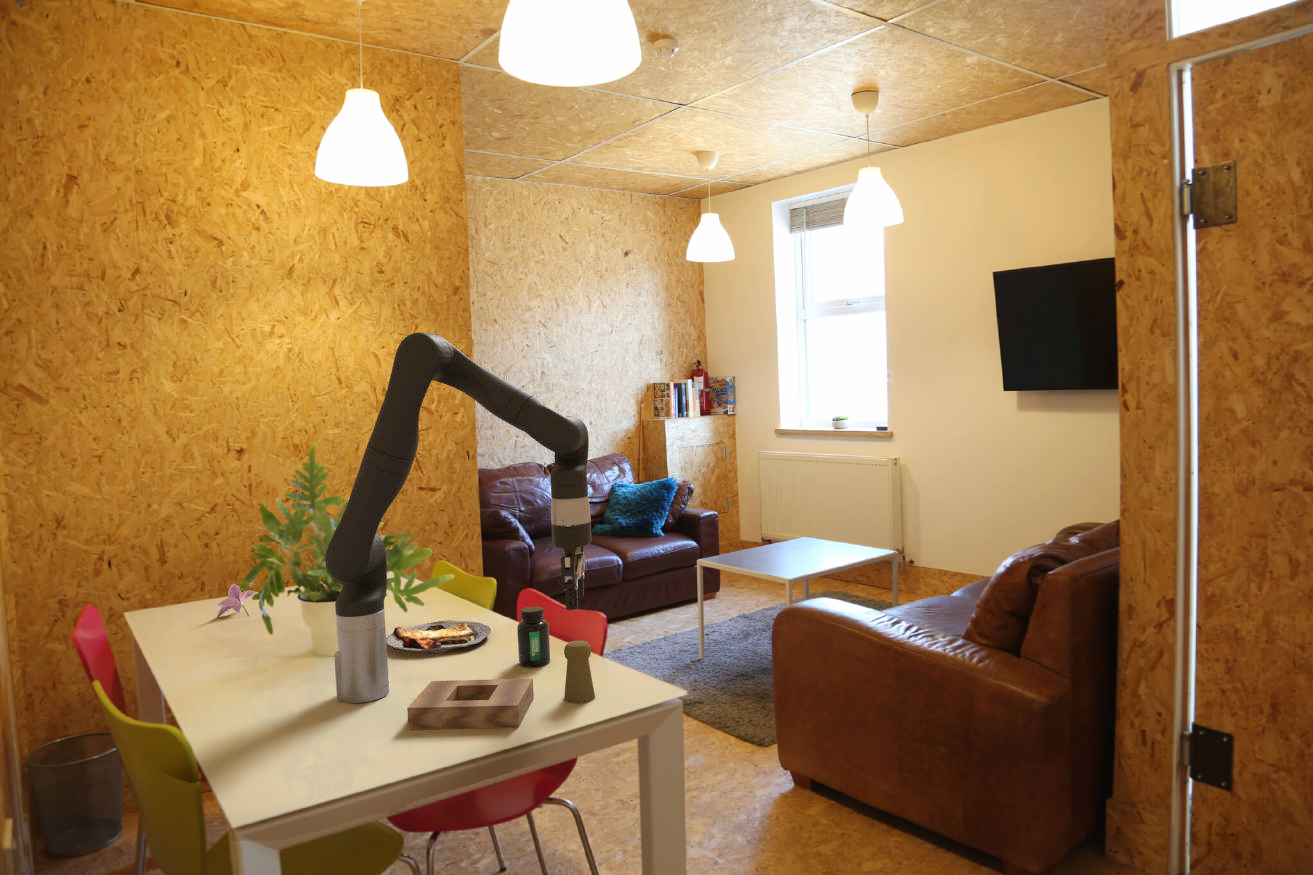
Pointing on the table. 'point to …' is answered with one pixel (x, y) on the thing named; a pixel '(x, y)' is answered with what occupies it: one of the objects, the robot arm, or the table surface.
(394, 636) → the food plate
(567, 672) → the cork
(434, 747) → the table surface
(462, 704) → the holder block
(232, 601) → the lily
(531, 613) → the supplement bottle
